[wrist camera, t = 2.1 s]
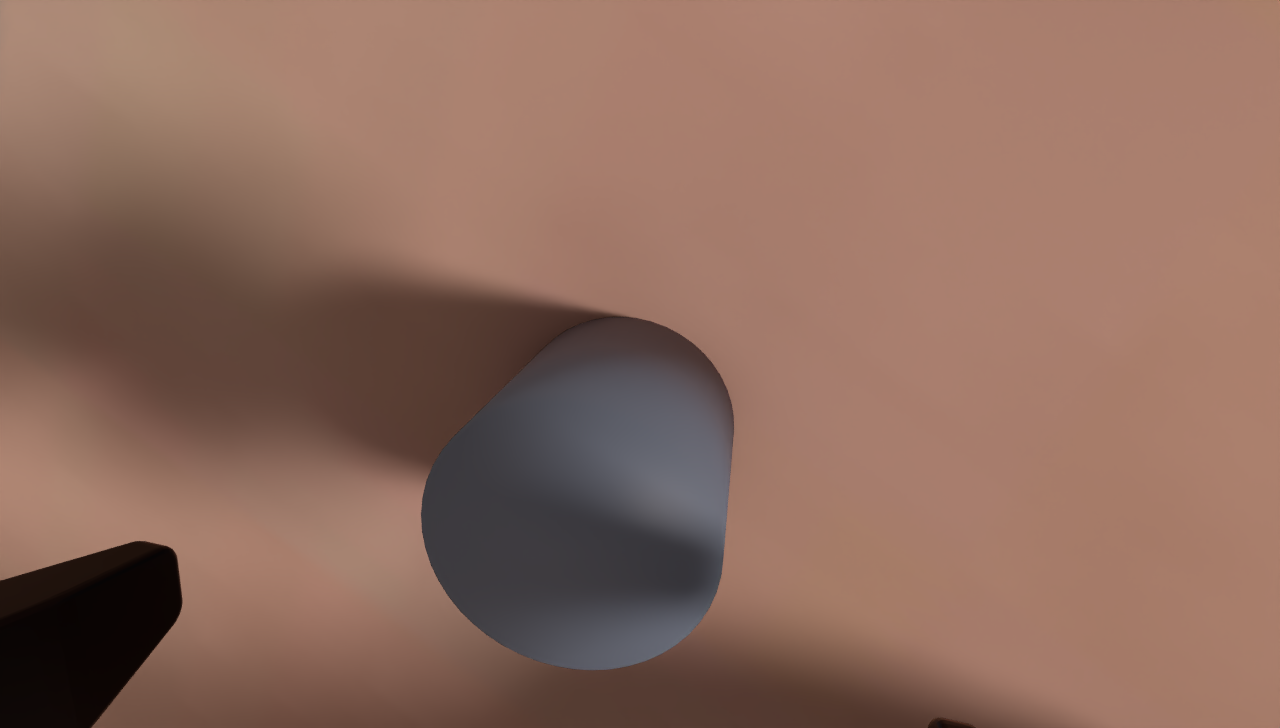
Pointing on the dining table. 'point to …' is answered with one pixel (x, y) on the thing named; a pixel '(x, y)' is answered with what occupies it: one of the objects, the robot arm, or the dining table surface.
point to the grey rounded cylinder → (588, 498)
